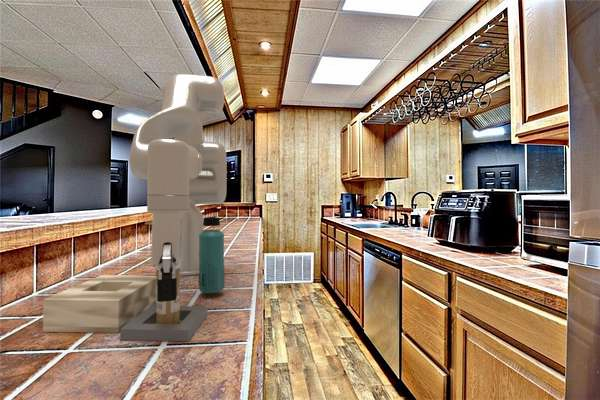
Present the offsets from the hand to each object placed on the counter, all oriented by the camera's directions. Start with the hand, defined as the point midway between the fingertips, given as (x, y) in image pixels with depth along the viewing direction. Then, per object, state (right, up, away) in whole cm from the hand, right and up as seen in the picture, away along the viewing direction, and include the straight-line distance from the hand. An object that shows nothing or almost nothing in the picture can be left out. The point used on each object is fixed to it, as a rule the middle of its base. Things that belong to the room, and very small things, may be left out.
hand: (168, 292), depth 64 cm
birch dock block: (-15, -6, +6) cm, 18 cm away
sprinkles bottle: (0, -7, 0) cm, 7 cm away
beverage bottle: (+3, -7, +20) cm, 22 cm away
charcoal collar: (0, -7, 0) cm, 7 cm away
